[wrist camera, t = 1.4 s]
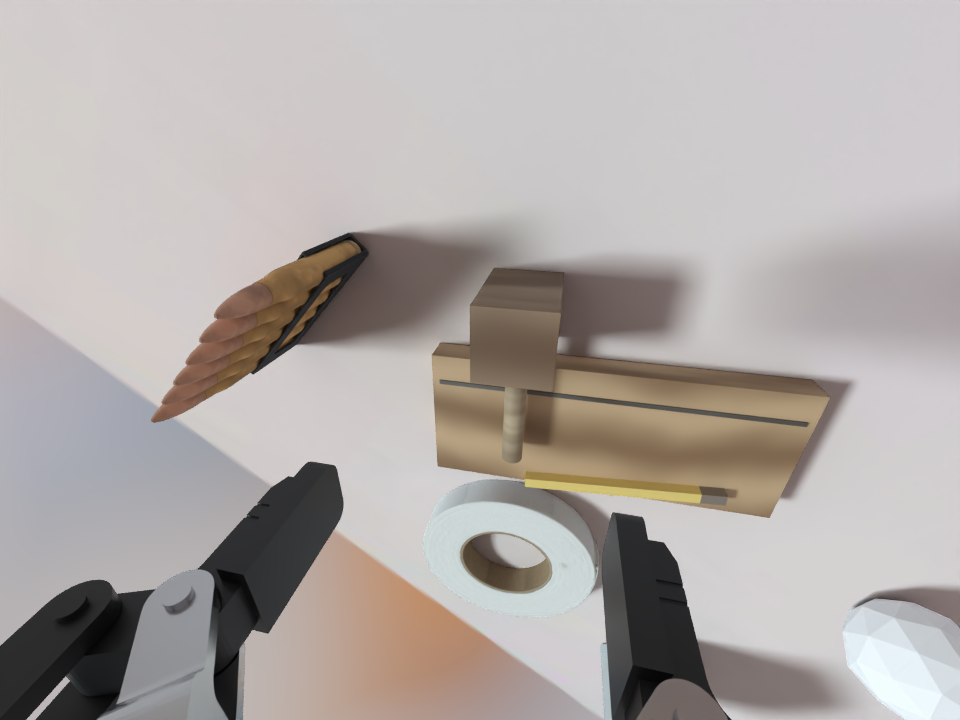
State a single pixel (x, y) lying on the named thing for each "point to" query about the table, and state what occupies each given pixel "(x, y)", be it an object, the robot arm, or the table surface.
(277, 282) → the ammunition clip
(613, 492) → the pencil
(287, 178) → the table surface
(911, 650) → the ball
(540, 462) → the board
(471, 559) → the roll of tape
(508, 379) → the block on a post
